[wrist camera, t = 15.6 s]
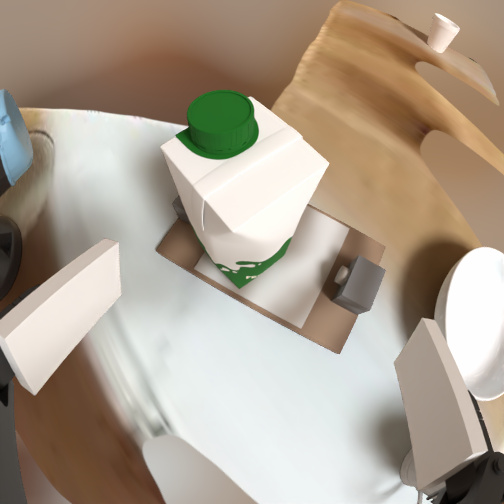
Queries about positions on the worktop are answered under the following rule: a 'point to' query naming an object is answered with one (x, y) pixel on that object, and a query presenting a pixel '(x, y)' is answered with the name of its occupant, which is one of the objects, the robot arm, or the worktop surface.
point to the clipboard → (297, 276)
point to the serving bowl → (475, 320)
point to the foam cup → (441, 33)
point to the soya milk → (242, 181)
